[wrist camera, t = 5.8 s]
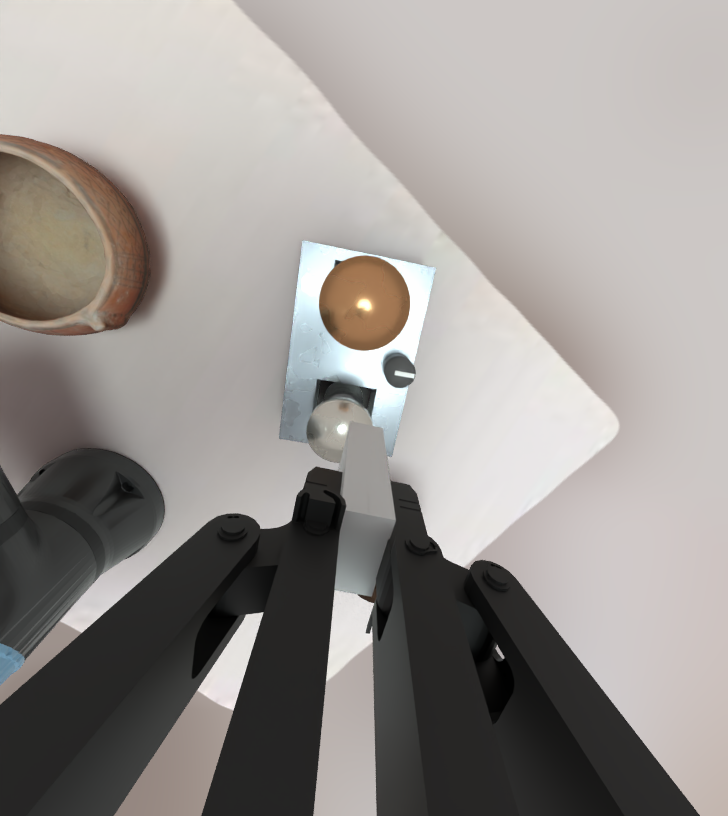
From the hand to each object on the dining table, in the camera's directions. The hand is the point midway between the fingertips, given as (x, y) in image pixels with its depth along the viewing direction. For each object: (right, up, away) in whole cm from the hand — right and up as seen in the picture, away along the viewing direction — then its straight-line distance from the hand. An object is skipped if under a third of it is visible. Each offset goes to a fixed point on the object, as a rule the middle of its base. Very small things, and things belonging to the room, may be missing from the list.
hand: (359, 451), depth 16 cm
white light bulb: (-2, +3, +24) cm, 24 cm away
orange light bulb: (0, +12, +16) cm, 20 cm away
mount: (-1, +9, +24) cm, 25 cm away
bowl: (-28, +18, +20) cm, 39 cm away
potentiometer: (+3, +6, +18) cm, 19 cm away
